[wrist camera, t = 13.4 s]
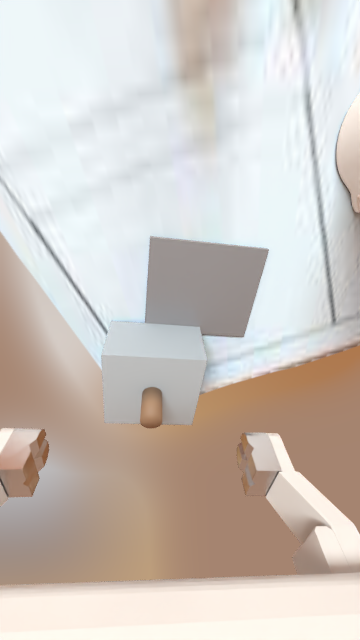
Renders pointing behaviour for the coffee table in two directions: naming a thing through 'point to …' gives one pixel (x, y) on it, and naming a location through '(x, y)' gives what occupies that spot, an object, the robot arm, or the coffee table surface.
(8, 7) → the coffee table surface
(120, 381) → the cover
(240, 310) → the mat
